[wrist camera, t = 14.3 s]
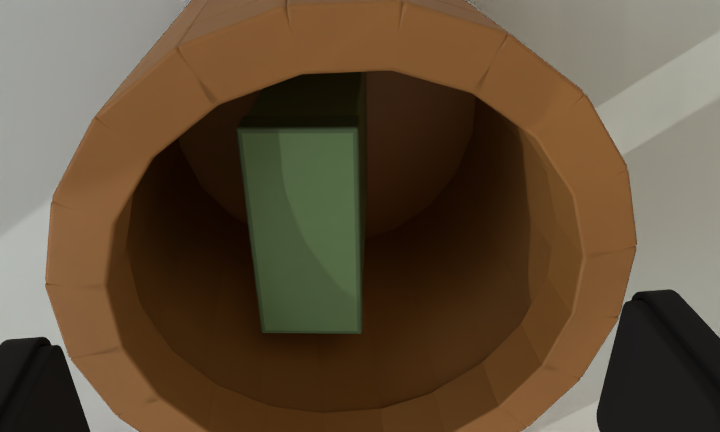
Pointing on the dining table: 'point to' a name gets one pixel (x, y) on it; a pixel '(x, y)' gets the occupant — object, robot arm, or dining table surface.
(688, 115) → the dining table surface
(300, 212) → the block
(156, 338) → the jar
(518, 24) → the dining table surface
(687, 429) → the robot arm
